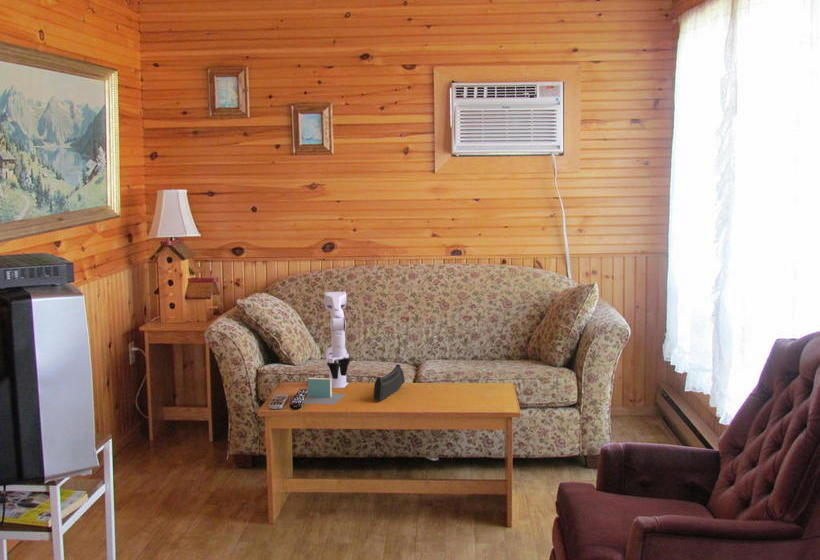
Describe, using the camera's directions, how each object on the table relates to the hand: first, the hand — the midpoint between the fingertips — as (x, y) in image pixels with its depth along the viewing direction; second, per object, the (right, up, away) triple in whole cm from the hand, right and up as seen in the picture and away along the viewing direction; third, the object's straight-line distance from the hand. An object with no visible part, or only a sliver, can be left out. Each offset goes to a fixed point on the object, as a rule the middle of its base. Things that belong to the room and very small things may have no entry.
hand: (339, 377), depth 395 cm
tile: (-9, -9, +7) cm, 15 cm away
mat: (-10, -10, +4) cm, 14 cm away
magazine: (+21, -9, +11) cm, 26 cm away
